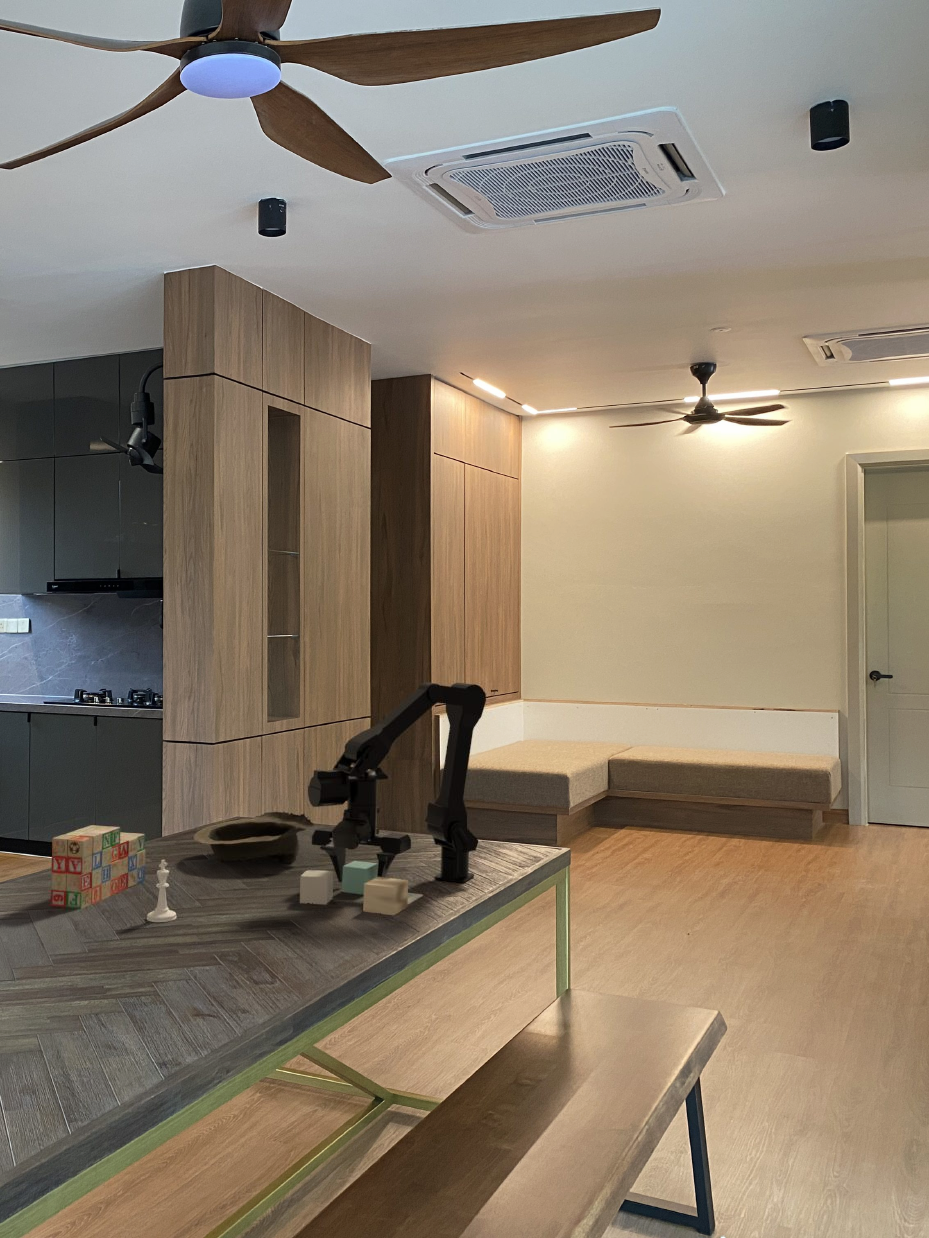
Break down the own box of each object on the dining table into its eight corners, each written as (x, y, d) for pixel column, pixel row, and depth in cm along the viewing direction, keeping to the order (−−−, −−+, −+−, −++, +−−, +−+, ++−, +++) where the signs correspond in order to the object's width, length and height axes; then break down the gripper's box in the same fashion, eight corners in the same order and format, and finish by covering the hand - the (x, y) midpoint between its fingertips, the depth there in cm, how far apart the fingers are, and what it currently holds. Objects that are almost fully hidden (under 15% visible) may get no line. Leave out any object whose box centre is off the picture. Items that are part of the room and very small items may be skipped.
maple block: (377, 903, 196) (378, 876, 196) (407, 907, 194) (408, 880, 194) (363, 911, 190) (364, 883, 190) (394, 915, 188) (394, 887, 188)
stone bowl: (334, 856, 232) (333, 814, 232) (254, 887, 212) (253, 841, 211) (251, 839, 246) (250, 800, 245) (168, 867, 225) (167, 824, 224)
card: (389, 891, 204) (389, 889, 204) (422, 895, 202) (422, 893, 202) (373, 900, 198) (373, 897, 198) (408, 904, 195) (408, 902, 195)
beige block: (306, 896, 199) (307, 869, 200) (332, 897, 199) (333, 871, 199) (299, 903, 195) (300, 876, 195) (326, 904, 194) (327, 877, 194)
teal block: (353, 886, 208) (354, 860, 208) (377, 889, 206) (377, 863, 206) (342, 892, 203) (342, 866, 203) (365, 895, 202) (366, 868, 202)
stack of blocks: (116, 878, 209) (118, 816, 209) (145, 881, 208) (147, 818, 208) (49, 906, 188) (51, 836, 188) (81, 909, 187) (83, 839, 187)
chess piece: (182, 916, 184) (183, 858, 184) (165, 923, 179) (166, 864, 179) (158, 912, 186) (159, 855, 186) (140, 920, 181) (142, 861, 181)
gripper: (298, 805, 201) (296, 888, 200) (389, 814, 194) (386, 899, 194) (326, 796, 211) (324, 875, 211) (413, 804, 204) (411, 886, 204)
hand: (360, 884), depth 205 cm, fingers open, 8 cm apart
